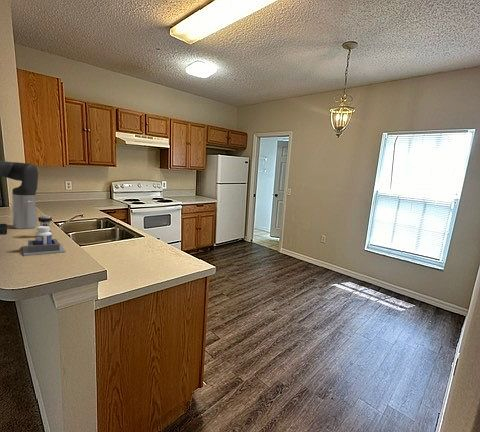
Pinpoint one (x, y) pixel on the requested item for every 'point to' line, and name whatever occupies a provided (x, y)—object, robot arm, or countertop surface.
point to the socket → (42, 248)
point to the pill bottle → (43, 236)
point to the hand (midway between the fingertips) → (6, 228)
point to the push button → (45, 220)
